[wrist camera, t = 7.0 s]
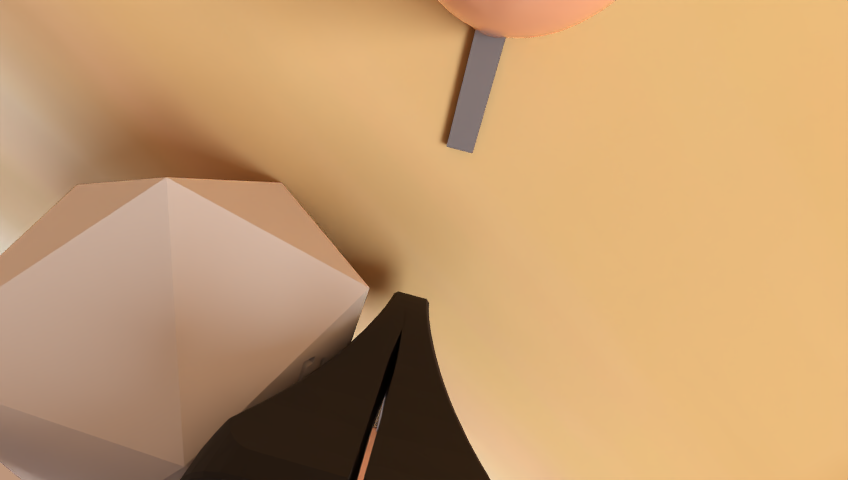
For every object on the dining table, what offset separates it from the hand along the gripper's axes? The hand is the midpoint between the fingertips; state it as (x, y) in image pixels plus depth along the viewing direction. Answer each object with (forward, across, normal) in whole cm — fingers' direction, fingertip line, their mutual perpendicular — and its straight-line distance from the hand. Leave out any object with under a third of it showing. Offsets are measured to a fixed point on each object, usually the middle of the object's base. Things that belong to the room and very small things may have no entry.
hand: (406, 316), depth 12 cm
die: (+2, +6, 0) cm, 6 cm away
